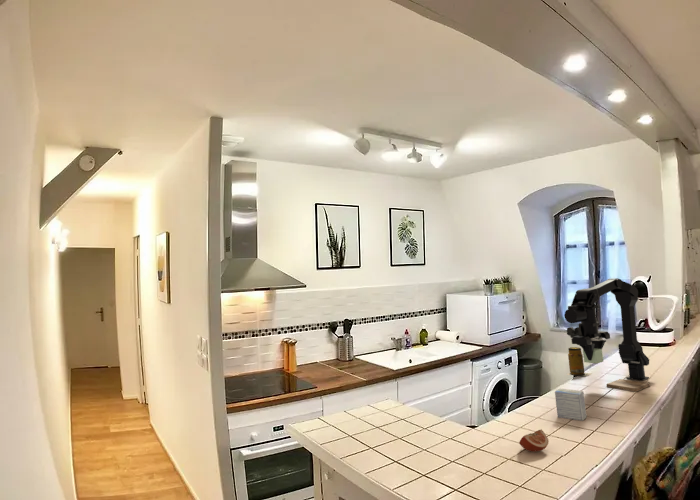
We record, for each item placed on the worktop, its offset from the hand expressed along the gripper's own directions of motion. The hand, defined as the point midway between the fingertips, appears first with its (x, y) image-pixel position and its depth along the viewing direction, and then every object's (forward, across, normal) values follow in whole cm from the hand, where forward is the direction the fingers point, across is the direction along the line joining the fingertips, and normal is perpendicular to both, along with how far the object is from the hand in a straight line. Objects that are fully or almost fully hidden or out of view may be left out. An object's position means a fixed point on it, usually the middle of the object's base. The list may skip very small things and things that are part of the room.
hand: (593, 359), depth 176 cm
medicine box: (+12, +39, +12) cm, 42 cm away
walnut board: (+12, -10, +7) cm, 17 cm away
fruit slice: (+11, +71, +20) cm, 75 cm away
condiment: (+12, -19, -18) cm, 29 cm away
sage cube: (+1, 0, 0) cm, 1 cm away
